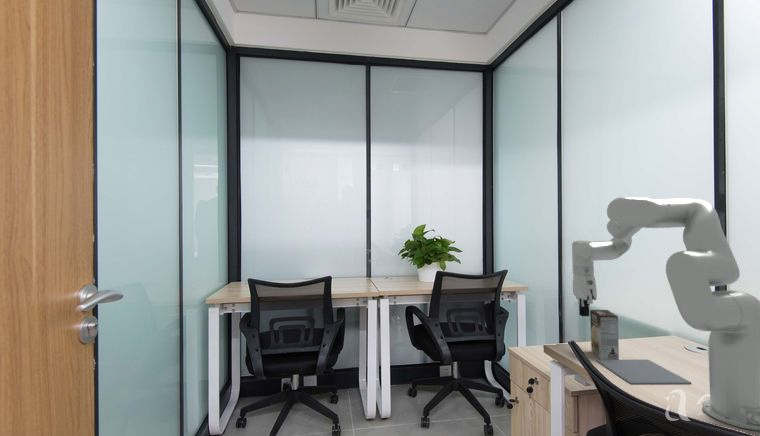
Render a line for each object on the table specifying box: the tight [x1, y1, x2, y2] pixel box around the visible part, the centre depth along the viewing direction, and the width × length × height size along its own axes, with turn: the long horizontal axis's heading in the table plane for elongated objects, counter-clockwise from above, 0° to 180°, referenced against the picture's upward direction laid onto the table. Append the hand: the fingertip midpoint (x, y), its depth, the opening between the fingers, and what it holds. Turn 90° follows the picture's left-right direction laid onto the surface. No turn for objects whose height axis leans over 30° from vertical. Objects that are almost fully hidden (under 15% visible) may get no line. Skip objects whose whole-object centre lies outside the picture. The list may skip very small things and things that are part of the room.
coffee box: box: [589, 309, 620, 360], centre depth 129 cm, size 9×6×16 cm
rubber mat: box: [595, 359, 692, 385], centre depth 115 cm, size 18×18×1 cm
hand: (584, 315), depth 142 cm, fingers closed
